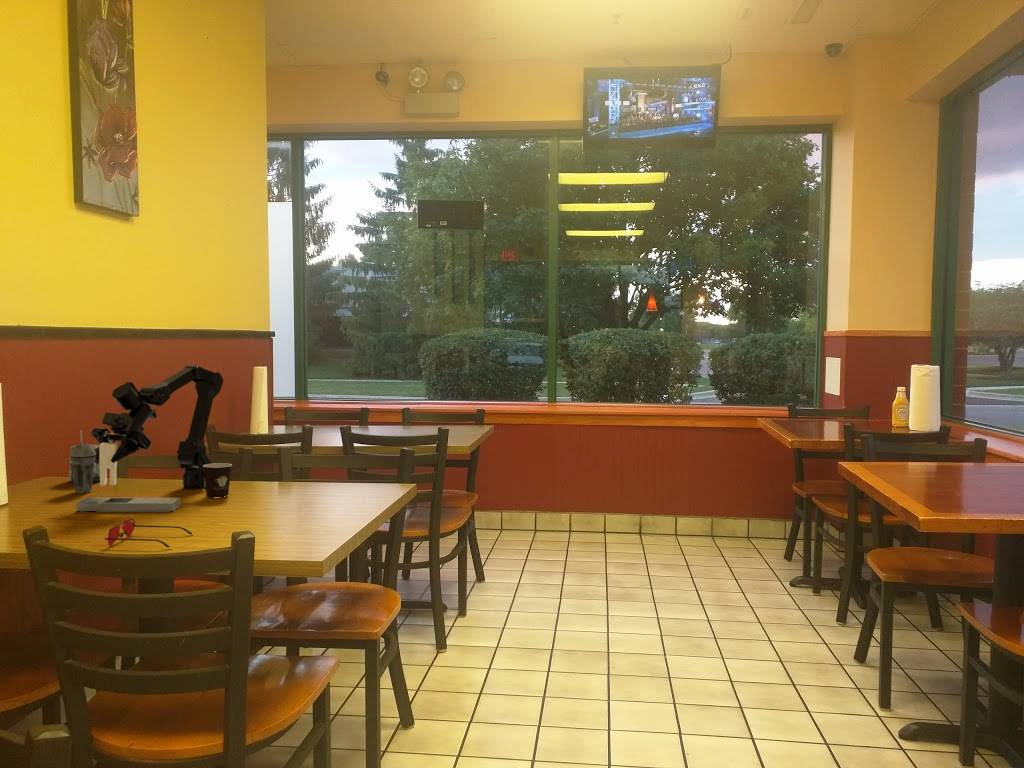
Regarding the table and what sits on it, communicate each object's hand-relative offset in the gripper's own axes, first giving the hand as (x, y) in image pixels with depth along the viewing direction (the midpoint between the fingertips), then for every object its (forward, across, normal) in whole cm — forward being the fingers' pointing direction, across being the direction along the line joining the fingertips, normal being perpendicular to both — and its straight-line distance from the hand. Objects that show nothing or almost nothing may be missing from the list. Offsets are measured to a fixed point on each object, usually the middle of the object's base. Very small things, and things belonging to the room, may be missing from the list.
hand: (104, 461), depth 232 cm
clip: (+4, 0, +6) cm, 7 cm away
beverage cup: (0, -24, +19) cm, 31 cm away
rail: (+8, +8, +11) cm, 16 cm away
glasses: (+26, +40, -6) cm, 48 cm away
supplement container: (-9, -38, +29) cm, 49 cm away
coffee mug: (-9, +16, +29) cm, 34 cm away
